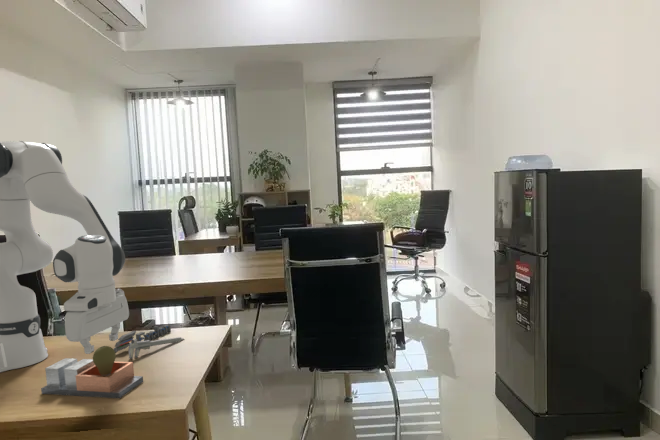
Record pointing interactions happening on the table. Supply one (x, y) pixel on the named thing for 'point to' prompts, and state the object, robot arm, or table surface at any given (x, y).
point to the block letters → (128, 337)
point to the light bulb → (104, 360)
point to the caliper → (148, 345)
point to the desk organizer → (89, 379)
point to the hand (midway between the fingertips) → (102, 346)
